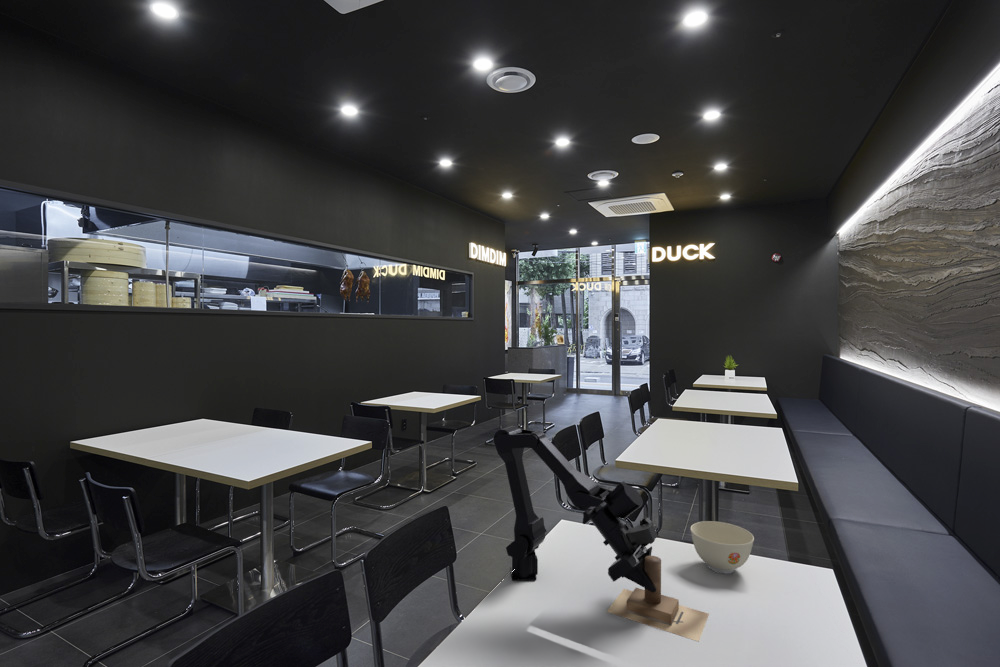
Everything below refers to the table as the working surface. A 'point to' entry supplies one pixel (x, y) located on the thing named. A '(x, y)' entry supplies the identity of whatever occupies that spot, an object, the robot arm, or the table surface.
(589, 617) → the table surface
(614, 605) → the oak board
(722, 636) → the table surface
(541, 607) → the table surface
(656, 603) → the block
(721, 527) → the bowl
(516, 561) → the robot arm
